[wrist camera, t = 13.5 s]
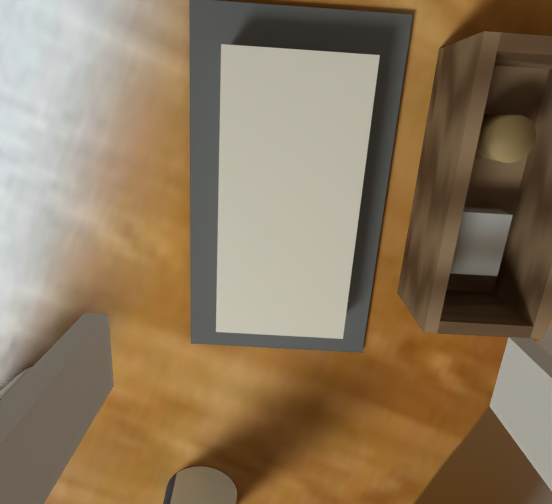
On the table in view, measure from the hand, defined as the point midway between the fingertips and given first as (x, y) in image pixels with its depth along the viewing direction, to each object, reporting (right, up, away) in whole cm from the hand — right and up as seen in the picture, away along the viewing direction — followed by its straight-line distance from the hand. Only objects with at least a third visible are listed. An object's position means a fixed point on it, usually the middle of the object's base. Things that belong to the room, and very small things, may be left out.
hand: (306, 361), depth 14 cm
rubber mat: (0, +8, +21) cm, 22 cm away
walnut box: (+15, +9, +20) cm, 27 cm away
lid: (0, +8, +20) cm, 22 cm away
